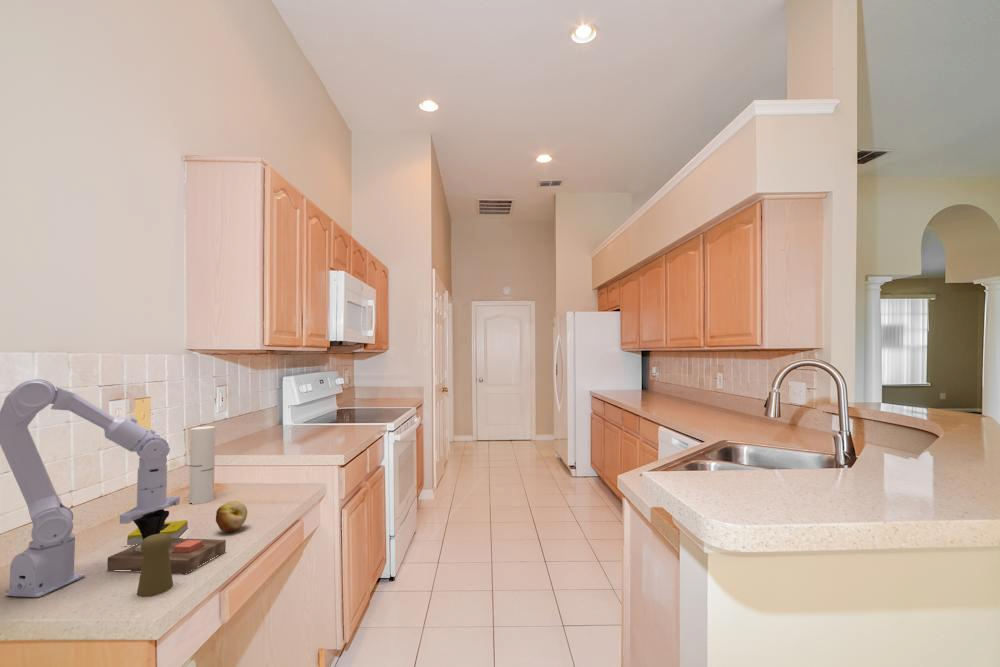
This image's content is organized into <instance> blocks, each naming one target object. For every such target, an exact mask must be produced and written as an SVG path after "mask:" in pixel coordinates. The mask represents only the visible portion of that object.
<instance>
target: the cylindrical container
mask: <svg viewBox="0 0 1000 667" xmlns="http://www.w3.org/2000/svg"><path fill="white" fill-rule="evenodd" d="M189 452H190V453H189V459H190V460H189V494H188V496H189V497H188V498H189V499H188V504H189V503H192V504H191V505H200V504H201V503H203V504H208V503H211V502H213V501H214V499H215V460H216V458H215V455H216V453H215V452H216V426H211V425H209V426H208V425H207V426H196V427H191V428H190V451H189Z"/></svg>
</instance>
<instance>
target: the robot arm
mask: <svg viewBox="0 0 1000 667" xmlns="http://www.w3.org/2000/svg"><path fill="white" fill-rule="evenodd" d="M50 405H51V408H50V409H51V410H54V411H55V410H56V411H57V410H58V411H68V412H71V413H73V414H75V415H77V416H79V417H81V418H83V419H84V420H86V421H88V422H90V423H92V424H93V425H95V426H98V427H100V428H101V429H103V430H104V438H106V439H107V440H109V441H111V442H113V443H114V444H116V445H118V446H120V447H122V448H124V449H125V450H127V451H128V452H131V453H136V454H137V455H138V457H139V458H138V468H137V477H136V478H137V483H136V484H137V488H136V506H135V507H133V508H131V509H130V510H128V511H126V512H124V513H121V514H119V524H123V525H124V524H125V525H128V524H131V523H132V522H133V523H134V524H135V526H136V528H139V530H140V532H141V535H142V538H143V540H144V539H145V538H147V537H148V536H151V535H154V534H160V531H161V528H162V526H163V524H164V522H166V520H167V518H168V517H169V516H170V511H169V510H166V509H168V508H170V507H173V506H178V505H180V503H181V502H180V496H170V497H167V493H168V492H167V487H168V483H167V482H168V481H167V479H168V465H167V461H168V458H167V456H168V455H169V453H170V451H171V448H170V445H169V442H167V440H166V439H164V438H163V437H162V436H161V435H159V434H156V433H157V432H156V431H155V430H154V429H151V430H149V429H148V428H146V427H144V426H142V424H139V423H138V419H136V418H134V417H131V418H129V417H127V416H120V417H114V416H113V415H111V414H109V413H108V412H106V411H105V410H103V409H102V408H100V407H98V406H96V405H95V404H93V403H92V402H90V401H88V400H87V399H86V398H84V397H82V396H80V395H79V394H77V393H75V392H73V391H71V390H68V389H66V388H63V387H61V386H58V385H53V383H52V382H50V381H48V380H46V379H40V378H37V379H29V380H26V381H23V382H21V383H19V384H18V385H16V386H15V388H14V389H12V391H10V392H9V393H8V394H7V396H6V397H5V398H4V401H3V404H2V406H1V408H0V447H1V450H2V452H3V454H4V456H5V458H6V460H7V462H8V466H9V467H10V470H11V472H12V474H13V477H14V479H15V481H16V483H17V485H18V487H19V488H18V489H19V490H20V492H21V495H22V497H23V498H24V501H25V503H26V505H27V510H28V513H29V517H30V520H31V522H32V529H31V539H32V540H31V541H29V543H28V547H27V548H26V549H25V550H24V551H22V552H20V553H18V554H17V555H14V557H13V559H11V563H10V566H9V567H10V568H9V570H10V571H9V589H8V590H9V591H7V592H6V593H5V596H7V597H21V598H22V597H26V598H27V597H28V598H40V597H43V596H45V595H47V594H49V593H51V592H53V591H56V590H58V589H60V588H62V587H64V586H67V585H69V584H72V583H73V582H75V581H77V580H80V579H82V578H84V577H86V574H85V573H75V556H76V553H75V550H76V534H75V533H72V532H73V529H74V522H73V520H74V513H73V511H72V510H71V509H70V508H69V507H67V506H66V505H64V504H63V503H62V500H61V498H60V497H59V495H58V494H57V491H56V489H55V487H54V486H53V482H52V480H51V478H50V475H49V473H48V471H47V469H46V467H45V464H44V462H43V460H42V457H41V454H40V453H39V450H38V448H37V446H36V443H35V441H34V439H33V436H32V435H31V432H30V430H29V425H30V423H32V421H33V420H34V419H35V417H36V416H37V414H39V413H40V412H41V411H43V410H44V409H45V408H47V406H50Z"/></svg>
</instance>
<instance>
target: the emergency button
mask: <svg viewBox="0 0 1000 667" xmlns="http://www.w3.org/2000/svg"><path fill="white" fill-rule="evenodd" d="M188 525H189V523H188V520H175V521H169V522H168V521H165V522H164V524H163V526H162V528H161V531H160V533H166V534H169V535H170V536H171V538H179V537H180V536H181V535H182V534H183V533H184V532H185V531H186V530H187V529H189V526H188ZM126 541H127V545H136V544H140V543H142V542H143V538H142V535H141V532H140V530H139V528H138V527H136V529H134V530H133V531H131V532H130V533H129V534H128V535H127V540H126Z"/></svg>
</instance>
